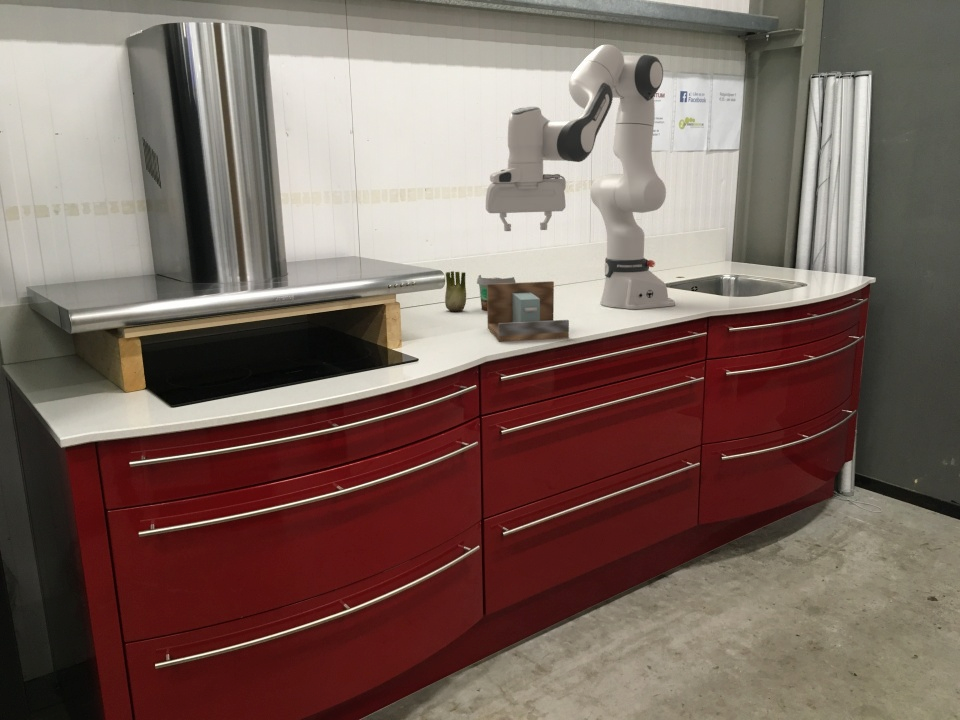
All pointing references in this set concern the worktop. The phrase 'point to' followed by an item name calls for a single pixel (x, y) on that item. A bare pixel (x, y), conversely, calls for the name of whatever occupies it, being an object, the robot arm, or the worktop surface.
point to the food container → (483, 287)
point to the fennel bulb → (455, 291)
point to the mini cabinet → (525, 307)
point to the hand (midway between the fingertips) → (525, 230)
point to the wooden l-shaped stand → (515, 331)
